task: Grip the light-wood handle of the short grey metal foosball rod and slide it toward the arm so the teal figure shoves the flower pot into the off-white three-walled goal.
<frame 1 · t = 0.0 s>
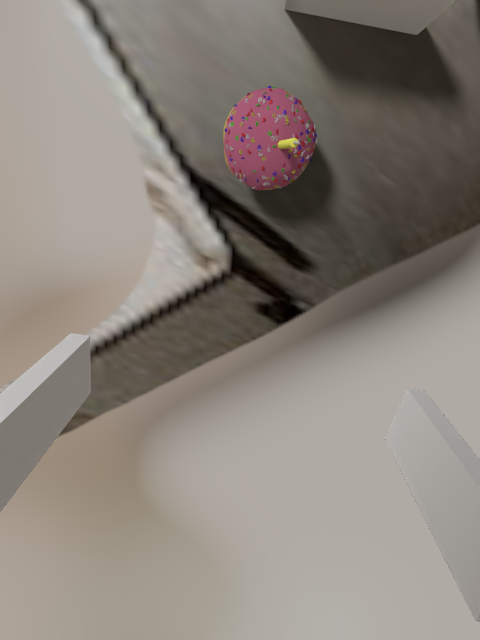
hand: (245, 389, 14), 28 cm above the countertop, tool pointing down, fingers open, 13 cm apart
cupcake: (266, 146, 35), on the countertop
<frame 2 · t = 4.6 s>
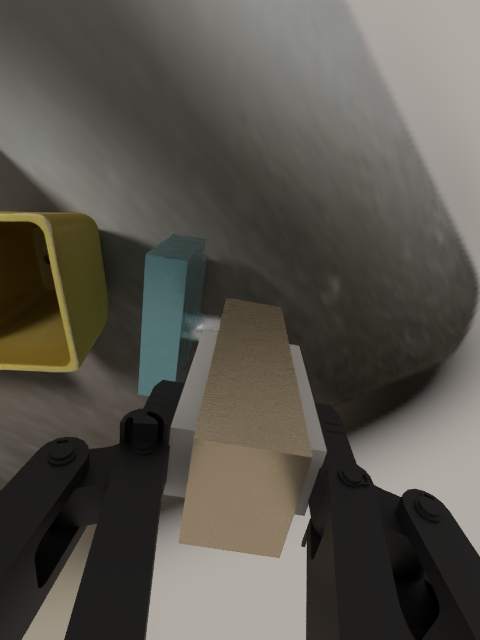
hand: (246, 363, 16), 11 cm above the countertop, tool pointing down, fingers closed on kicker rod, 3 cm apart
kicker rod: (208, 343, 17), point 10 cm above the countertop, slide at 0.0 cm, touching gripper
flower pot: (71, 259, 26), on the countertop
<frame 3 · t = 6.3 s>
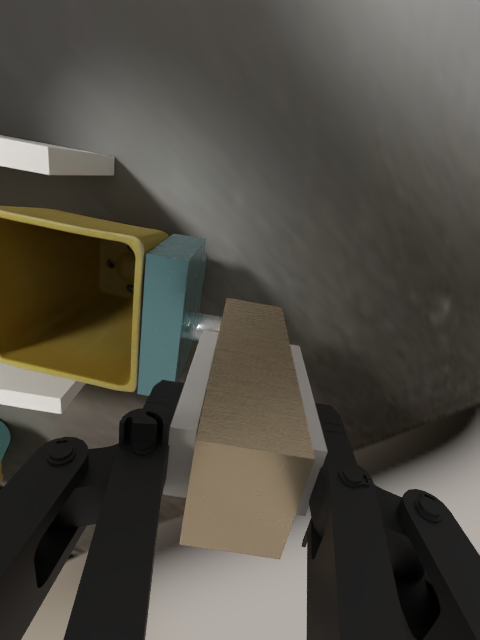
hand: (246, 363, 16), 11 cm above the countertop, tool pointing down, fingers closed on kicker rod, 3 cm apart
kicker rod: (208, 344, 17), point 10 cm above the countertop, slide at 8.8 cm, touching gripper
flower pot: (132, 266, 26), on the countertop
goal: (30, 251, 25), on the countertop
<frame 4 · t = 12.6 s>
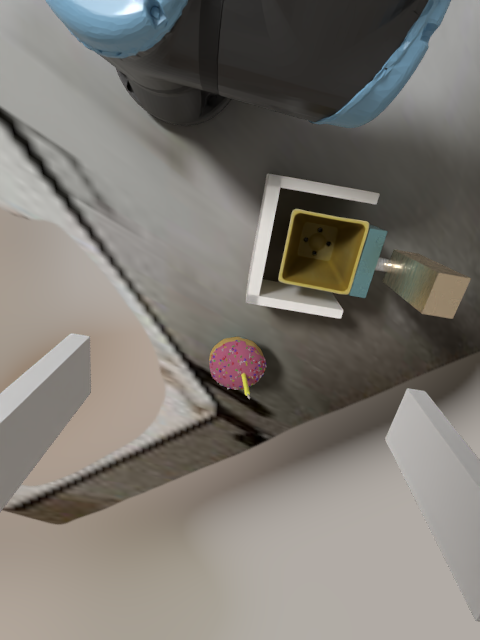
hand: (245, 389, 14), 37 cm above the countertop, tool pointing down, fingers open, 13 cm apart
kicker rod: (389, 268, 39), point 10 cm above the countertop, slide at 14.4 cm, touching flower pot
flower pot: (315, 241, 47), on the countertop, touching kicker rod
goal: (299, 240, 47), on the countertop
cupcake: (238, 349, 55), on the countertop
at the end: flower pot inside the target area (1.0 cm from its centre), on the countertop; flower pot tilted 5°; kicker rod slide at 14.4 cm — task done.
